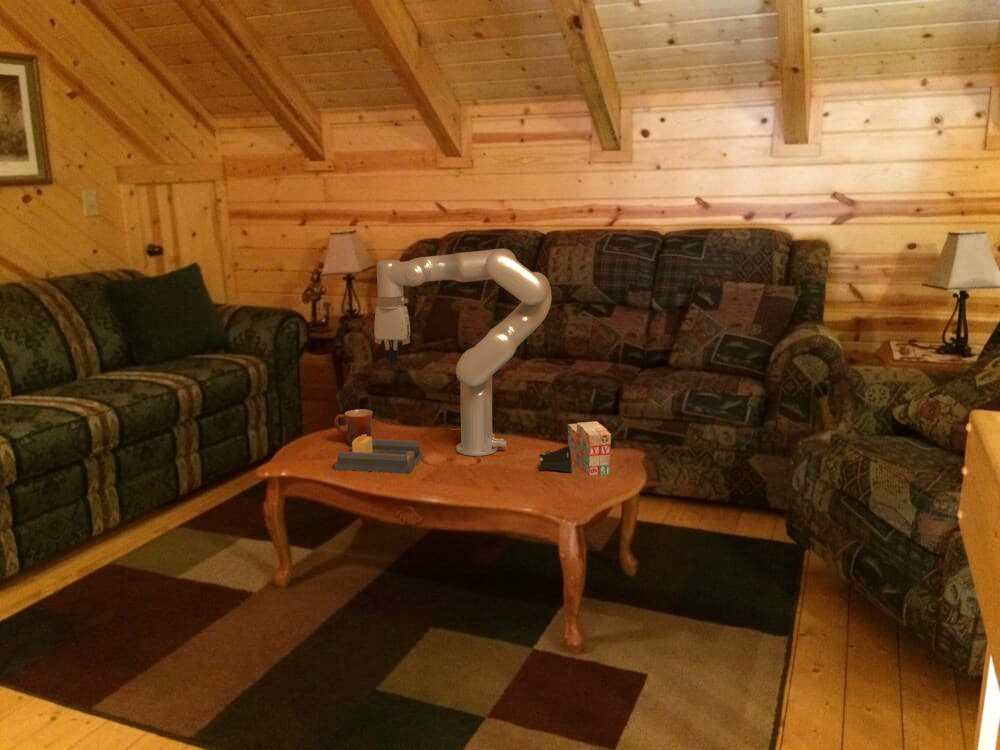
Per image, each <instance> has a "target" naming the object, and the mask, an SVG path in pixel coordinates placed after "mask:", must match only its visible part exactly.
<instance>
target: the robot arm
mask: <svg viewBox="0 0 1000 750" xmlns="http://www.w3.org/2000/svg"><path fill="white" fill-rule="evenodd" d="M376 278H377V282H376V284H377V306H376V307H375V312H374V314H375V315H374V325H373V330H374V332H373V333H374V343H376V344H378V345H382V346H383V347H384V348H385V350H386V356H387V361H388V363H389V364H396V363H397V362H398V360H399V349H401V347H402V346H404V345H408V344H410V343H411V339H410V336H411V325H410V316H409V312H408V311H409V310H408V307H407V306H406V305H405V304H408V303H409V298H406V297H405V296H404V286H408V287H418V286H420V285H422V284H424V283H426V282H435V281H456V282H459V283H469V282H477V281H486V280H492V281H494V282H495V283H496V284H497V285H499V286H500V287H502V288H503V289H504V290H506V291H507V292H508V293H510V294H511V295H512V296H514V297H515V298H517V299H518V300H519V301H521V302H520V303H519V304H518V305H517V306H516V307H515V309H514V310H512V311H511V312H510V313H509V314H508V315H507V316H506V317H505V318H504V319H503V320H502V321H501V322H499V323H498V324H497V325H495V326H494V327H492V328H490V330H489V331H488V333H487V334H486V336H484V337H483V338H481V340H480V341H479V342H478V343H477V344H475V346H474V347H471V348H468V349H467V350H465V352H463V353H462V355H461V356H460V358H459V360H458V361H457V364H456V366H455V373H456V378H457V380H458V381H459V382H460V392H459V393H460V441H461V442H459V443H458V444H457V445H456V447H455V449H456V452H458V454H461V455H464V456H470V457H471V456H472V457H482V456H488V455H491V454H494V453H496V452H497V451H498V447H507V440H505V439H504V438H497V437H496V435H495V433H493V375H494V374H495V373H496V372H498V371H499V370H500V369H501V368H502V367H503V366H504V365H505V364H506V363H508V361H510V359H511V358H513V356H514V354H515V353H516V351H517V348H518V347H519V345H521V343H523V342H524V341H525V340H526V339H527V338H528V337H530V335H531V334H533V332H534V331H535V330H536V329H537V328H538V327H539V326H541V324H542V323H543V321H544V320H545V319H546V317H547V315H548V314H549V311H550V308H551V304H552V298H553V297H552V289H551V285H550V282H549V280H548V278H547V277H546V275H544V274H543V273H541V272H538V271H531V270H530V269H528V267H526V266H525V265H523V264H522V263H520V262H519V261H518V259H517V258H516V255H515V254H514V253H513V252H512V251H511V250H510V249H507V248H495V249H486V250H478V251H477V250H475V251H466V252H457V253H451V254H442V255H431V256H421V257H415V258H413V259H411V260H408V261H407V260H406V261H400V260H399V259H383V260H379V261H378V262H377V263H376ZM392 341H393V345H392Z"/></svg>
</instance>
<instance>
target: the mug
mask: <svg viewBox="0 0 1000 750" xmlns="http://www.w3.org/2000/svg"><path fill="white" fill-rule="evenodd" d="M373 414H374V411H373V410H370V409H361V408H360V409H351V410H347V411H345V412H344V414H338V415H336V416H335V418H334V427H335V428H336V430H337V432H339V433H340V434H341V435H344V436H347V441H348V442H347V443H348V444H349V446H352V442H353V439H354V438H357V437H359V436H361V435H363V434H367V437H372V438H373V435H372V434H373V432H372V418H373ZM339 419H344V420H345V421H346V425H347V427H346V430H343V429H342V428H341V427H340V425H339Z"/></svg>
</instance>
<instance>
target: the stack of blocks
mask: <svg viewBox="0 0 1000 750" xmlns="http://www.w3.org/2000/svg"><path fill="white" fill-rule="evenodd" d="M567 440H568V441H567V443H568V445H567V446H569V448H570V452H571V458H572V460H574V461H575V463H576V464H578V466H579V467H580V468H581V469H582V471H584V473H585V474H586V475H587V476H588V477H597V476H610V474H611V473H610V472H611V465H610V464H611V449H612V448H611V445H612V444H611V442H612V433H610V431H608V429H607V428H606V427H604V426H603V425H602V424H600V423H599V422H598V421H586V422H577V423H570V424H569V423H568V424H567Z"/></svg>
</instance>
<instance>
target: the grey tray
mask: <svg viewBox="0 0 1000 750" xmlns="http://www.w3.org/2000/svg"><path fill="white" fill-rule="evenodd" d="M355 439H356V438H354V439H353V441H354V440H355ZM372 449H385V450H406V451H415V453H418V452H420V441H419V440H407V439H405V440H403V439H402V440H401V439H385V438H384V439H383V438H382V439H381V438H372ZM337 461H338V464H351V465H370V466H390V467H406V466H407V455H403V454H383V453H362V452H348V451H341V450H340V451H338V452H337Z"/></svg>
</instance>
